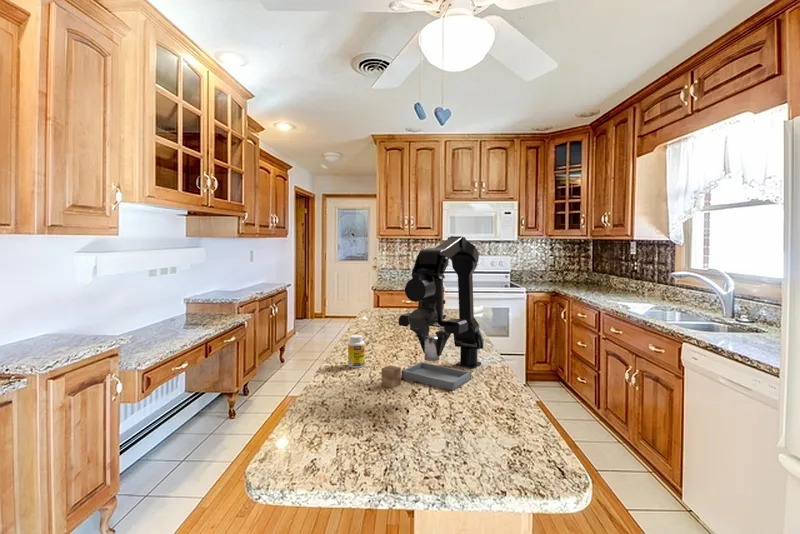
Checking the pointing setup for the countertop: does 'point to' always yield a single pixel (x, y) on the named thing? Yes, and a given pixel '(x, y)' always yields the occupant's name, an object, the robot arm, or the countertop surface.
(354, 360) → the supplement bottle
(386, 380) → the walnut block
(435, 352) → the grey peg
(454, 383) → the parts tray
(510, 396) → the countertop surface
